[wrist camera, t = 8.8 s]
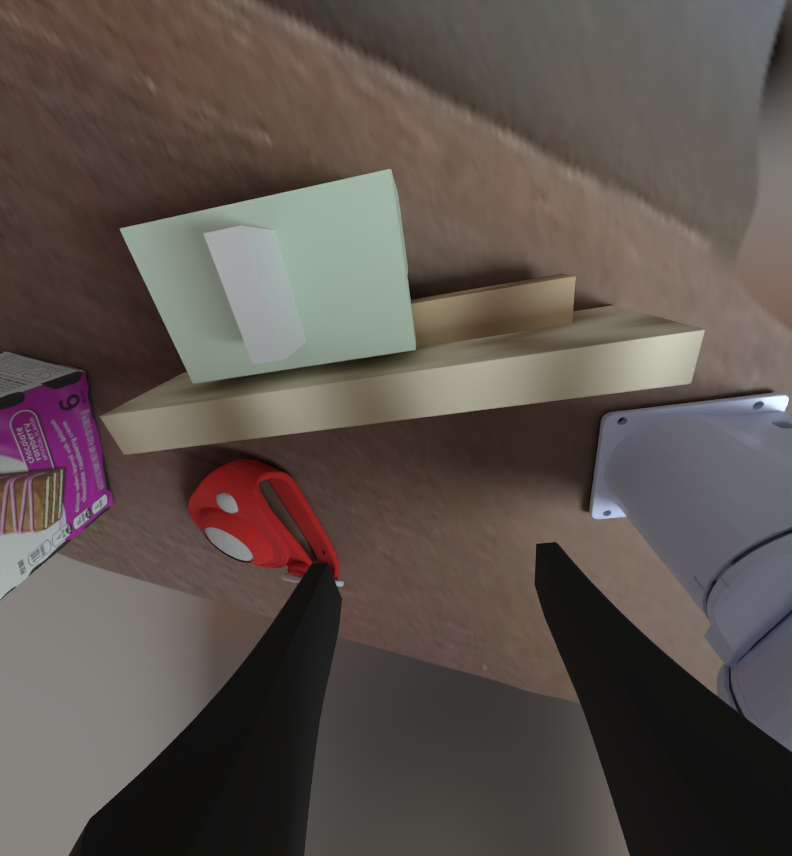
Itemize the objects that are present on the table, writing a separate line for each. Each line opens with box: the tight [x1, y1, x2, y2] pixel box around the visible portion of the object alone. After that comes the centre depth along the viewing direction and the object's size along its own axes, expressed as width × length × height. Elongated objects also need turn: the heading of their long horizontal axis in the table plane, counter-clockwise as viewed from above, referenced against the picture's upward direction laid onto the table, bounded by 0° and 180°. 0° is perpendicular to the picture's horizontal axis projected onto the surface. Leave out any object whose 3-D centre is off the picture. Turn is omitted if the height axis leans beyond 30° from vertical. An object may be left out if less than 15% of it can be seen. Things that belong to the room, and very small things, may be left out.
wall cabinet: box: [120, 169, 416, 384], centre depth 14 cm, size 10×6×8 cm, turn 99°
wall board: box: [100, 274, 705, 455], centre depth 16 cm, size 24×4×6 cm, turn 99°
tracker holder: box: [188, 459, 344, 586], centre depth 24 cm, size 12×4×10 cm
